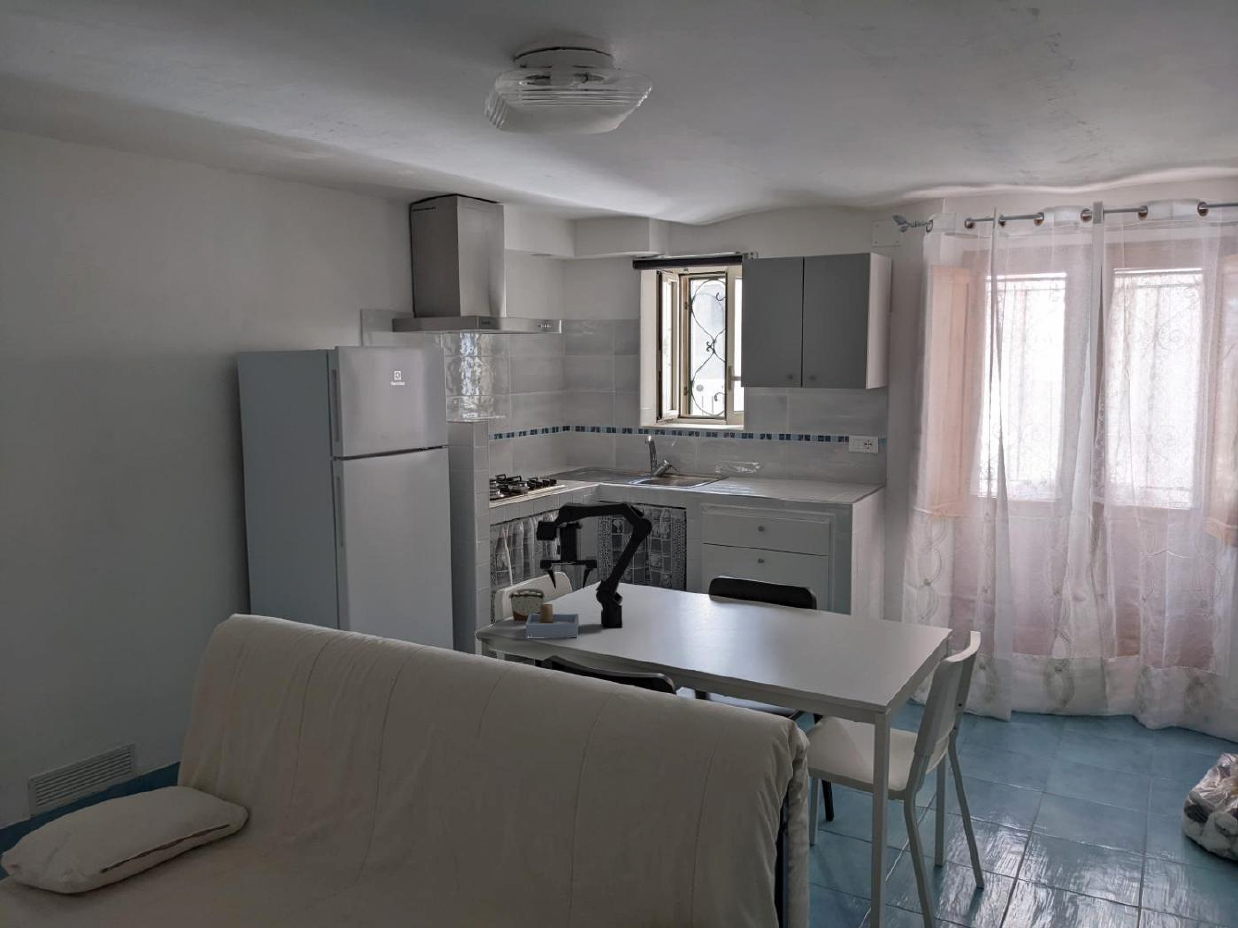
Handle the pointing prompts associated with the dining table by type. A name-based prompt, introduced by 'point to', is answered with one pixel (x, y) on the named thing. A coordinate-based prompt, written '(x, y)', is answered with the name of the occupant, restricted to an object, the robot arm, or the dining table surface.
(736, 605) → the dining table surface
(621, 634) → the dining table surface
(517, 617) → the food container
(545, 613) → the peg
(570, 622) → the box
